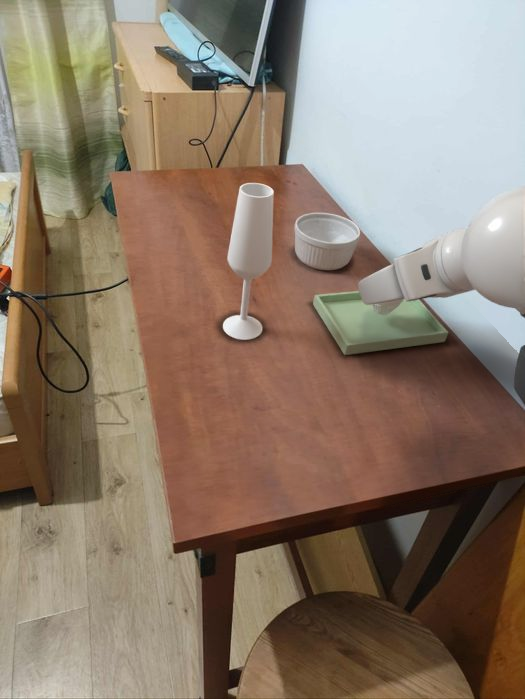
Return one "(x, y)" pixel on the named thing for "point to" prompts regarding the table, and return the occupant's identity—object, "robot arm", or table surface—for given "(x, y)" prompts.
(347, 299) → the tray
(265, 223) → the champagne flute
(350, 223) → the ramekin
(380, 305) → the muffin
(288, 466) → the table surface
